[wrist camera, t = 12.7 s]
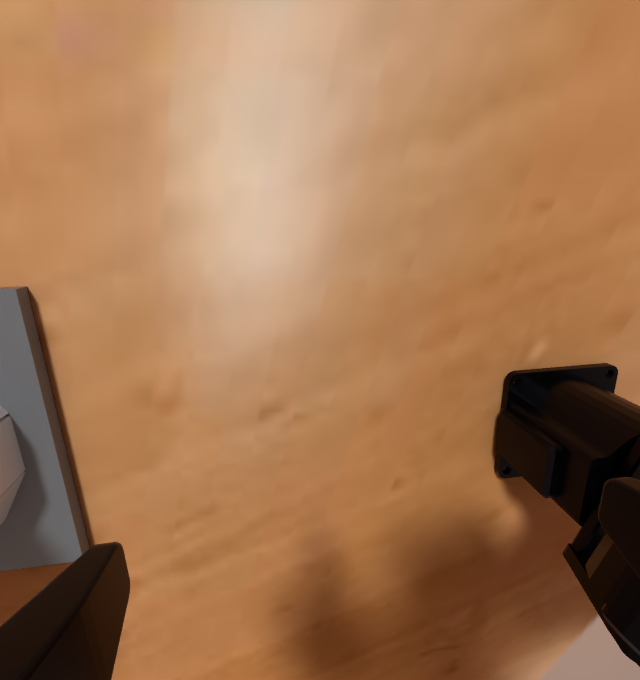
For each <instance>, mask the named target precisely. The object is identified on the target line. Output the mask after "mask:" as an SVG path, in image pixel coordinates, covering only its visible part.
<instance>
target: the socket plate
mask: <svg viewBox="0 0 640 680" xmlns="http://www.w3.org/2000/svg"><path fill="white" fill-rule="evenodd" d="M88 549H89V544H88V539H87V535H86V531H85V527H84V523H83V519H82V514H81V510H80V506H79V502H78V498H77V494H76V490H75V485H74V481H73V477H72V473H71V469H70V465H69V461H68V456H67V452H66V448H65V444H64V440H63V436H62V432H61V427H60V423H59V419H58V415H57V411H56V407H55V403H54V398H53V394H52V390H51V386H50V382H49V378H48V373H47V369H46V365H45V361H44V357H43V353H42V349H41V344H40V340H39V336H38V332H37V328H36V324H35V320H34V315H33V311H32V307H31V303H30V299H29V295H28V291H27V286H26V287H5V288H0V571H8V570H15V569H23V568H31V567H38V566H46V565H54V564H61V563H69V562H74V561H76V560H77V559H78V558H79V557H80V556H81V555H82V554H83V553H85V552H86V551H87V550H88Z"/></svg>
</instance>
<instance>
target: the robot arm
mask: <svg viewBox="0 0 640 680" xmlns="http://www.w3.org/2000/svg"><path fill="white" fill-rule="evenodd" d="M607 371H608V372H607ZM606 372H607V374H606ZM617 375H618V369H617V368H616V367H615V366H613V365H611V364H608V363H602V364H590V365H578V366H566V367H555V368H543V369H531V370H519V371H512V372H510V373H509V374H508V375H507V376H506V378H505V383H504V392H503V401H502V410H501V412H500V418H499V427H498V436H497V445H496V451H497V454H496V463H495V471H496V472H497V473H498V474H499V475H500V477H502V478H512V477H520V476H522V477H523V478H524V479H525V480H526V481H527V482H529V483H530V484H531V485H532V486H533V487H534V488H535V489H536V490H537V491H538V492H539V493H540V494H541V495H542V496H543V497H544V498H552V499H553V500H554V501H555V502H556V503H557V504H558V505H559V506H560V507H561V508H562V509H563V510H564V511H565V512H566V513H567V514H568V515H570V516H571V517H572V518H573V519H574V520H575V521H576V522H577V523H578V524H579V525H580V526H582V528H581V529H580V531H579V532H578V534H577V536H576V537H575V539H574V540H573V542H572V544H568V545H567V547H566V549H565V550H564V552H563V555H564V557H565V559H566V560H567V562H568V564H569V566H570V567H571V569H572V571H573V572H574V574H575V576H576V577H577V579H578V581H579V582H580V584H581V586H582V587H583V589H584V591H585V592H586V594H587V596H588V597H589V599H590V601H591V602H592V604H593V606H594V607H595V609H596V611H597V612H598V614H599V616H600V617H601V619H602V621H603V622H604V624H605V626H606V627H607V629H608V630H609V632H610V633H611V635H612V636H613V638H614V639H615V641H616V642H617V644H618V645H619V647H620V649H621V650H622V652H623V653H624V654H625V655H626V656H627V657H629V658H630V659H631V660H633V661H634V662H636V663H637V664H638V665H639V666H640V406H638V405H636V404H634V403H632V402H630V401H628V400H626V399H624V398H622V397H620V396H618V395H615V394H614V390H615V385H616V380H617ZM516 378H518V380H517V382H516V383H513V382H514V380H515V379H516ZM506 467H507V468H506ZM504 468H506V469H505V470H503V469H504ZM129 593H130V578H129V574H128V569H127V564H126V560H125V555H124V550H123V547H122V545H121V544H120V543H118V542H111V543H103V544H97V545H94V546H92V547H91V548H89V549H88V550H87V551H86V552H85V553H83V554H82V555H81V556H80V557H79V558H78V559H77V560H76V561H74V562H73V563H72V564H71V565H70V566H69V567H68V568H66V569H65V570H64V571H63V572H62V573H61V574H60V575H58V576H57V577H56V578H55V579H54V580H53V581H52V582H51V583H49V584H48V585H47V586H46V587H45V588H44V589H43V590H41V591H40V592H39V593H38V594H37V595H36V596H35V597H33V598H32V599H31V600H30V601H29V602H28V603H27V604H26V605H24V606H23V607H22V608H21V609H20V610H19V611H18V612H16V613H15V614H14V615H13V616H12V617H11V618H10V619H9V620H7V621H6V622H5V623H4V624H3V625H2V626H1V627H0V680H111V678H112V673H113V669H114V664H115V659H116V655H117V650H118V645H119V641H120V636H121V631H122V627H123V622H124V617H125V613H126V608H127V604H128V599H129Z"/></svg>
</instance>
